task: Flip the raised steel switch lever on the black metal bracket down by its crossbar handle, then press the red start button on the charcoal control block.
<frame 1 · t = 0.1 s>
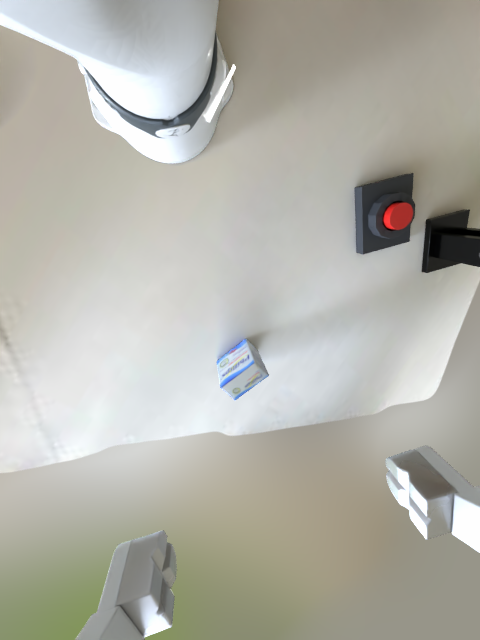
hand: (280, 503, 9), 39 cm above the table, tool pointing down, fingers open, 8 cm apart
control block: (379, 215, 45), on the table
start button: (397, 216, 41), point 4 cm above the table, slide at 0.1 cm
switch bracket: (441, 241, 49), on the table
medicine box: (237, 355, 52), on the table
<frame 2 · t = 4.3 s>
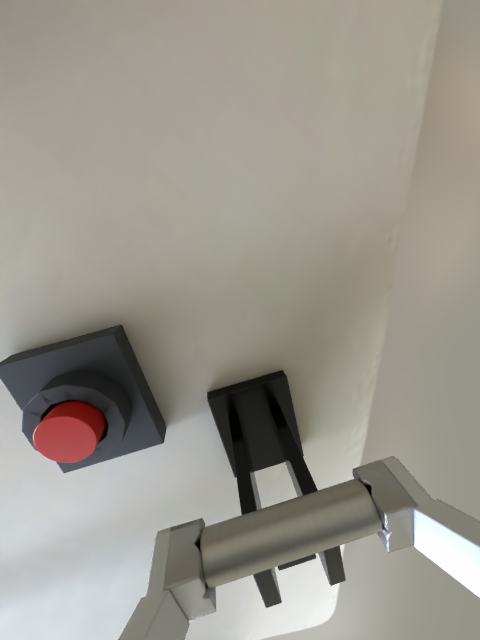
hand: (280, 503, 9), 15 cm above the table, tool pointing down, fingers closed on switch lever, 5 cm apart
control block: (96, 394, 22), on the table
start button: (71, 431, 18), point 4 cm above the table, slide at 0.1 cm
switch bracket: (256, 421, 26), on the table
switch lever: (289, 534, 12), point 13 cm above the table, hinge at 27.9°, touching gripper
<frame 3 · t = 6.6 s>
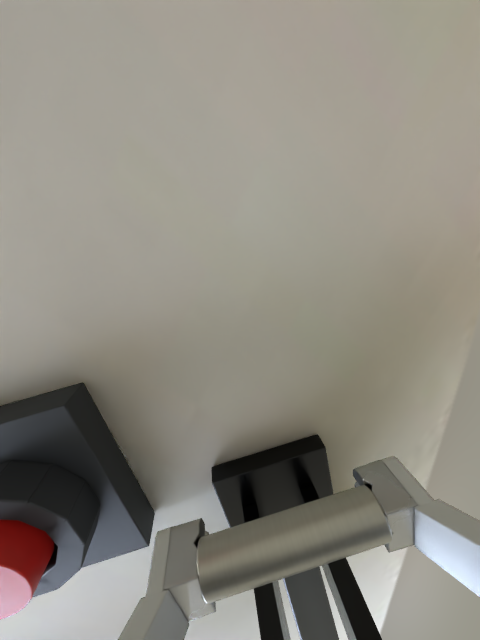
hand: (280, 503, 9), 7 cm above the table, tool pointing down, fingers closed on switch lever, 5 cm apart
control block: (51, 477, 15), on the table
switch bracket: (279, 499, 19), on the table
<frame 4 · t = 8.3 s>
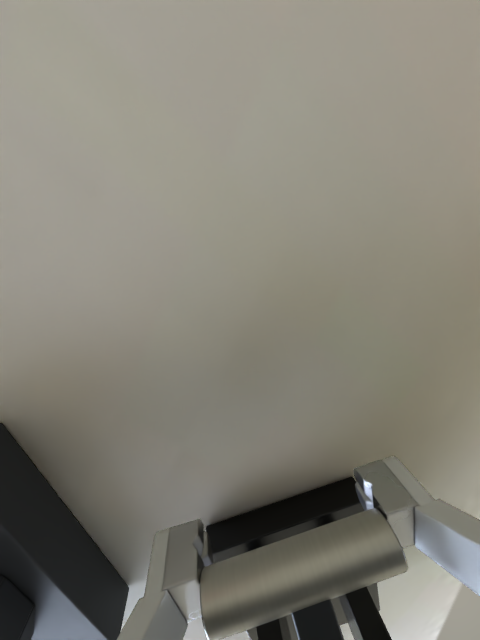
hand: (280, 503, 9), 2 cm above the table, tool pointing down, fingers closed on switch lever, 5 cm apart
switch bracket: (298, 559, 14), on the table
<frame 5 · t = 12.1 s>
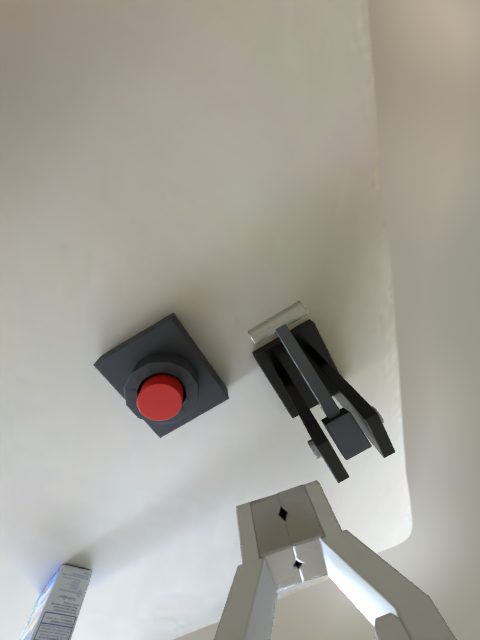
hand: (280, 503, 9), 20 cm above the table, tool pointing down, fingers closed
control block: (167, 373, 28), on the table
start button: (161, 397, 24), point 4 cm above the table, slide at 0.1 cm
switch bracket: (299, 368, 30), on the table
switch lever: (311, 377, 22), point 8 cm above the table, hinge at -34.9°
medicine box: (67, 581, 37), on the table
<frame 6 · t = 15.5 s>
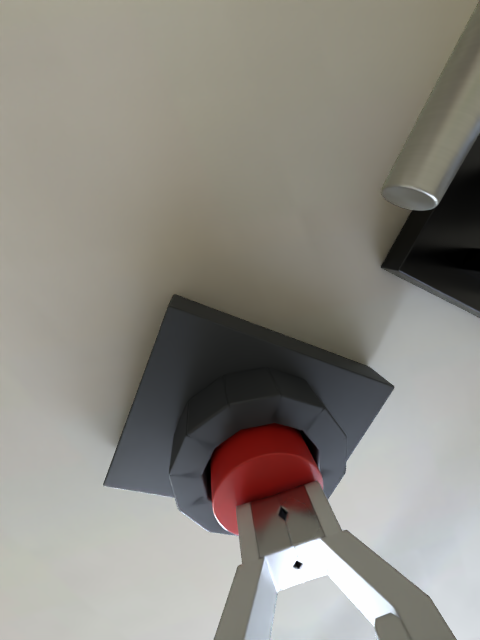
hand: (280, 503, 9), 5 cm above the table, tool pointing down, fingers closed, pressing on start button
control block: (245, 407, 14), on the table
start button: (263, 476, 10), point 4 cm above the table, slide at -0.3 cm, touching gripper
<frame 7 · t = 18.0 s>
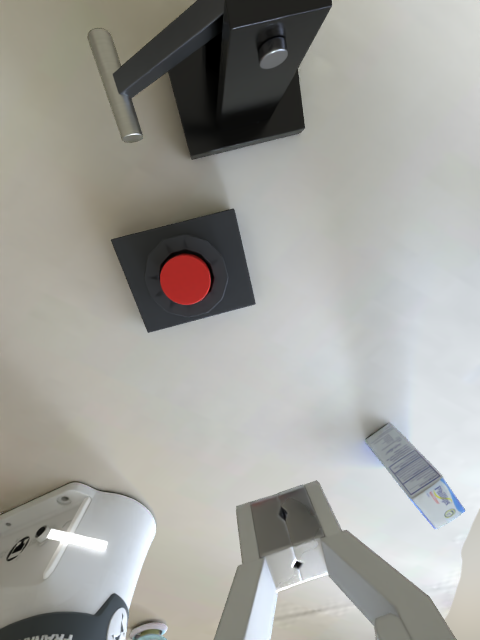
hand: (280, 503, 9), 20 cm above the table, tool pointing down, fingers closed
control block: (189, 271, 25), on the table
pacifier: (150, 628, 45), on the table
start button: (186, 278, 21), point 4 cm above the table, slide at 0.1 cm
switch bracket: (236, 95, 21), on the table
switch lever: (179, 40, 14), point 8 cm above the table, hinge at -34.9°
medicine box: (387, 444, 37), on the table
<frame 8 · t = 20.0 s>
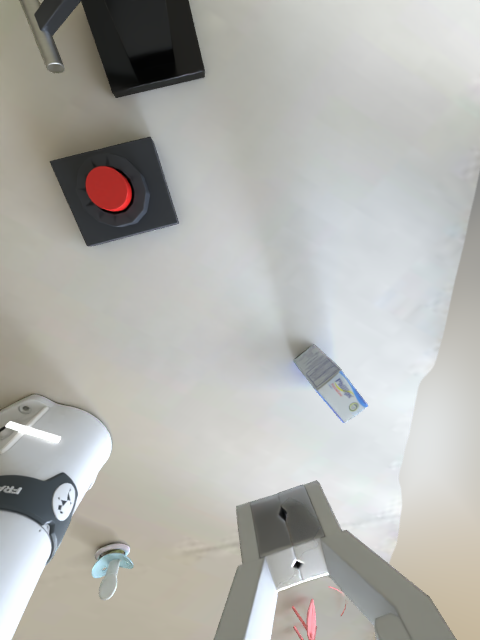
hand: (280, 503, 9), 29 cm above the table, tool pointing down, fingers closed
control block: (122, 196, 31), on the table
pacifier: (115, 550, 49), on the table
start button: (109, 190, 26), point 4 cm above the table, slide at 0.1 cm
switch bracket: (148, 44, 27), on the table
medicine box: (315, 366, 42), on the table
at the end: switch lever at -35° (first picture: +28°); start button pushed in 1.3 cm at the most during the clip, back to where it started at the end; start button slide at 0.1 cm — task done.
